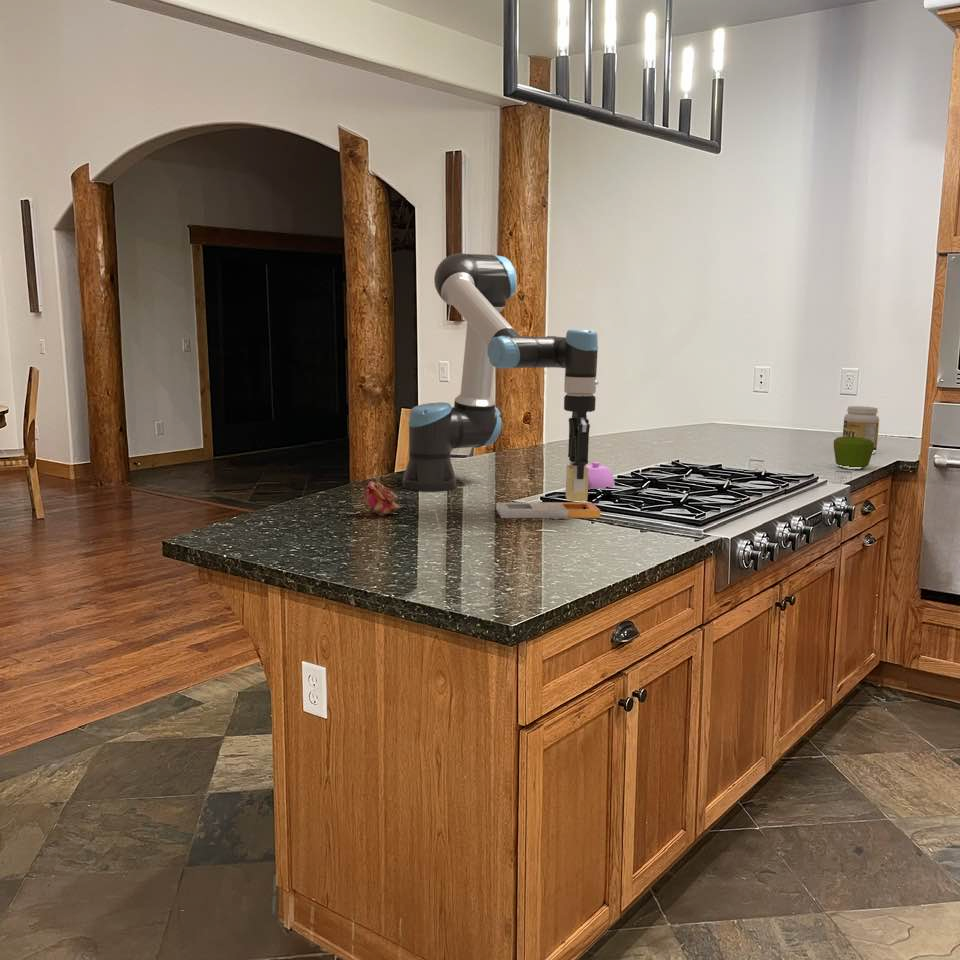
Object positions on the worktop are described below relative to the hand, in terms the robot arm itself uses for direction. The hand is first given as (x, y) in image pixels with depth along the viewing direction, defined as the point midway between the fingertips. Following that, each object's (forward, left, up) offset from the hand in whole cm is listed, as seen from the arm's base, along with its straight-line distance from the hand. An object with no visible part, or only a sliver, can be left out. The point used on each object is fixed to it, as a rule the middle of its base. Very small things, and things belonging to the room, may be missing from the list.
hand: (576, 489), depth 238 cm
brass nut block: (0, 0, -2) cm, 2 cm away
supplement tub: (+129, +113, -7) cm, 172 cm away
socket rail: (-7, 0, -6) cm, 10 cm away
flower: (-47, +2, -7) cm, 48 cm away
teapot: (+10, +26, -7) cm, 29 cm away
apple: (+108, +76, -7) cm, 132 cm away
